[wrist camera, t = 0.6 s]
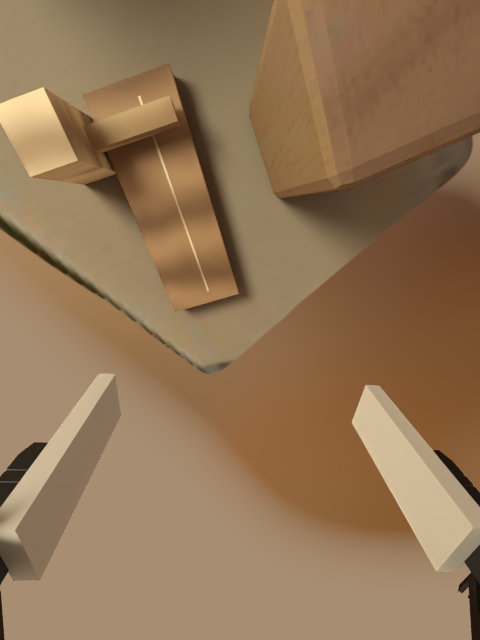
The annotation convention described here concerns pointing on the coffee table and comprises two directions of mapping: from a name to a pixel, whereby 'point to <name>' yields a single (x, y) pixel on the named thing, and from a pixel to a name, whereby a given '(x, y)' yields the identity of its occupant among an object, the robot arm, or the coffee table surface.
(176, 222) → the board
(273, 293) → the coffee table surface
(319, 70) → the wooden block
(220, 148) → the coffee table surface
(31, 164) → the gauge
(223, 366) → the coffee table surface
